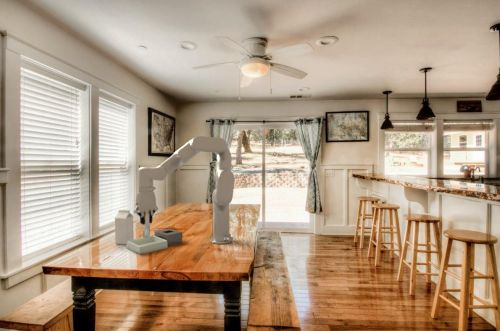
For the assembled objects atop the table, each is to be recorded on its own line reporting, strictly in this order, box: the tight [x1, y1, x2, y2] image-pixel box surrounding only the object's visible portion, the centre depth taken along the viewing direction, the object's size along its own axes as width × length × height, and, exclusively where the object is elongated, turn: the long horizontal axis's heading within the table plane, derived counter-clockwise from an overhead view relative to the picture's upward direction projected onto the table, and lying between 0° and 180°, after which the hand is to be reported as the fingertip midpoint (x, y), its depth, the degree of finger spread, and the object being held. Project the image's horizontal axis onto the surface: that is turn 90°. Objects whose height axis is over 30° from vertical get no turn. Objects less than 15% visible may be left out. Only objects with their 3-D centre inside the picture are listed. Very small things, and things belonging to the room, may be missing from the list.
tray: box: [126, 235, 168, 256], centre depth 155 cm, size 16×16×4 cm
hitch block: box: [153, 227, 183, 247], centre depth 166 cm, size 14×10×6 cm
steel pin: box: [142, 211, 151, 238], centre depth 155 cm, size 4×4×16 cm
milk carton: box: [114, 209, 135, 245], centre depth 166 cm, size 7×7×19 cm
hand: (146, 223), depth 155 cm, fingers closed on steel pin, 3 cm apart
